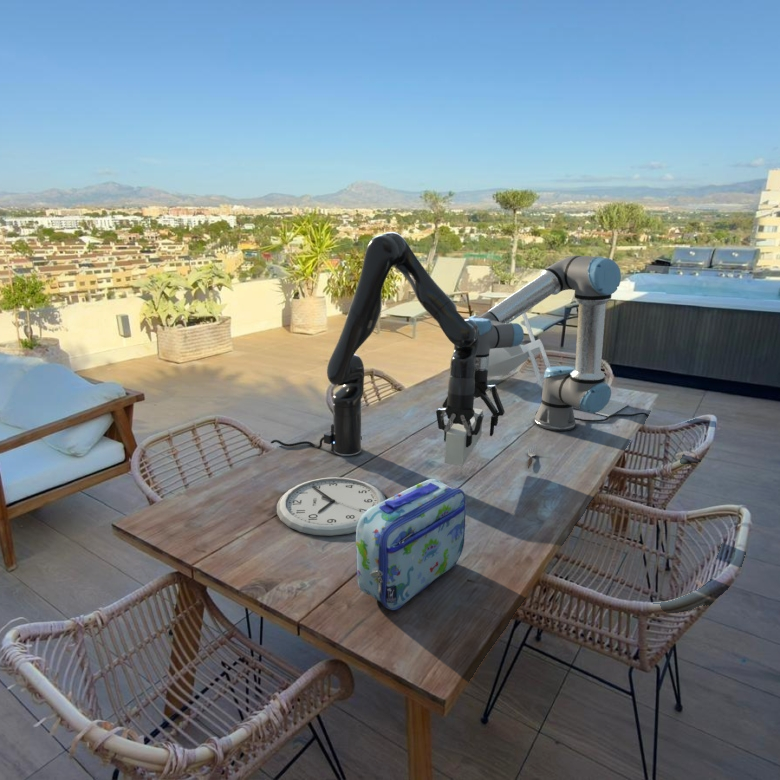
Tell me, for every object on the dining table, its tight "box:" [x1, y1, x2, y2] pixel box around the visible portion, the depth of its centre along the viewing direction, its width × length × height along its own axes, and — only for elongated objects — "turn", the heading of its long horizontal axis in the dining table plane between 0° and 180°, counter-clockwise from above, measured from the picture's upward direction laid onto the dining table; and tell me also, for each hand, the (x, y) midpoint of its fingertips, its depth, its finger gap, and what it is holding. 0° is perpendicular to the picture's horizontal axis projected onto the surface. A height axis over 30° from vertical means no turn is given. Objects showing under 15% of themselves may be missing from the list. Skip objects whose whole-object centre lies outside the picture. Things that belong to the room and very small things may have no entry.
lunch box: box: [355, 478, 466, 611], centre depth 110 cm, size 26×11×21 cm, turn 134°
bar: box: [444, 407, 484, 467], centre depth 162 cm, size 25×5×9 cm, turn 158°
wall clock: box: [276, 476, 387, 537], centre depth 142 cm, size 30×2×30 cm
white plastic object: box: [487, 312, 551, 390], centre depth 256 cm, size 37×45×31 cm
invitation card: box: [573, 400, 629, 417], centre depth 226 cm, size 21×1×15 cm
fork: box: [527, 445, 537, 469], centre depth 172 cm, size 3×16×2 cm, turn 160°
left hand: (457, 444), depth 154 cm, fingers closed on bar, 5 cm apart
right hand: (471, 431), depth 171 cm, fingers open, 12 cm apart
